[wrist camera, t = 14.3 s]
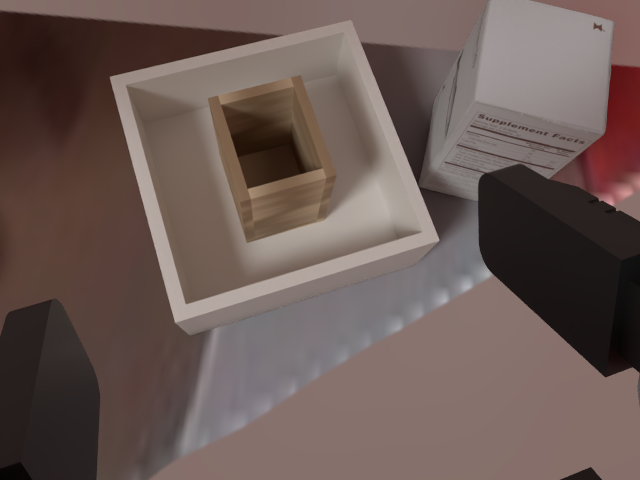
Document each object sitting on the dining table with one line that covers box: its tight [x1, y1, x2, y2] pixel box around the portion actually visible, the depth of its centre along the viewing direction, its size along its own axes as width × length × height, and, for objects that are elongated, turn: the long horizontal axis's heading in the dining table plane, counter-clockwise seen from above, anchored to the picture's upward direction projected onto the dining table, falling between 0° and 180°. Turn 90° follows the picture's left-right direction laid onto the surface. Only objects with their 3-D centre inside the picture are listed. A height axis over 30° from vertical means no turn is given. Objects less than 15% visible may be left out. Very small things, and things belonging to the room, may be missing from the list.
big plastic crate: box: [110, 20, 440, 336], centre depth 38 cm, size 16×16×6 cm
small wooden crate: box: [208, 75, 336, 243], centre depth 36 cm, size 6×6×8 cm
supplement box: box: [418, 0, 615, 201], centre depth 36 cm, size 7×7×13 cm
